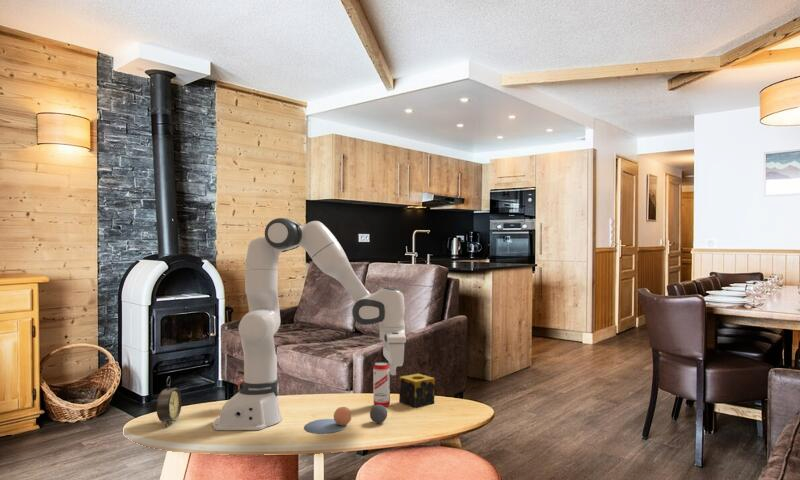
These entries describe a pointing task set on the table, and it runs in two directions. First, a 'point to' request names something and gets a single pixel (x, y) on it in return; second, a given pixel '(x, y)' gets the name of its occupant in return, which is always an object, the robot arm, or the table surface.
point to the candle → (416, 390)
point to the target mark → (323, 426)
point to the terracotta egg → (342, 416)
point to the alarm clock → (169, 404)
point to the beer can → (381, 384)
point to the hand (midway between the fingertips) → (392, 374)
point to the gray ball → (378, 413)
